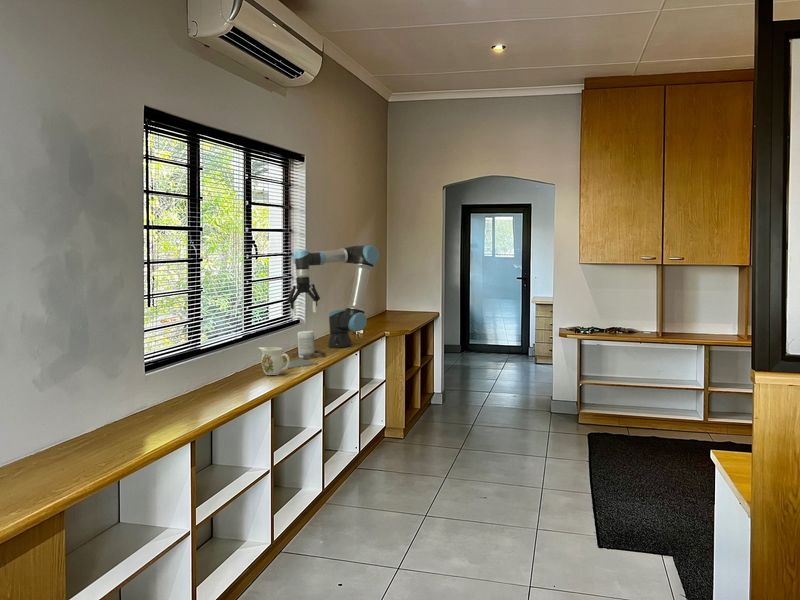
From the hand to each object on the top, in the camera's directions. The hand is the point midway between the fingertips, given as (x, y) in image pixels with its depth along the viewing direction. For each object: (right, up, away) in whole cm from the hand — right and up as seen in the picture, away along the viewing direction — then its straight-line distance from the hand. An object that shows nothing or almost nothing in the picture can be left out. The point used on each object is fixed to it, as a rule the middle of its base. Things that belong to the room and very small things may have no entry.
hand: (304, 313), depth 397 cm
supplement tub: (+1, -25, +2) cm, 26 cm away
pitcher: (-8, -30, -47) cm, 57 cm away
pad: (-2, -27, -20) cm, 34 cm away
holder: (+1, -25, +2) cm, 25 cm away
